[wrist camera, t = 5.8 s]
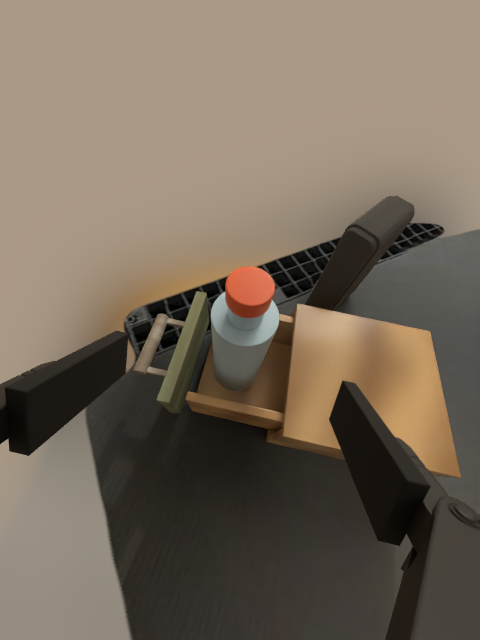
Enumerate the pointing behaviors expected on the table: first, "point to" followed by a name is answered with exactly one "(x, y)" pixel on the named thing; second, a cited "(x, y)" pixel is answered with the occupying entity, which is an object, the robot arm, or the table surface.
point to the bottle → (243, 327)
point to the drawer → (211, 398)
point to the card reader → (360, 251)
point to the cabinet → (365, 385)
